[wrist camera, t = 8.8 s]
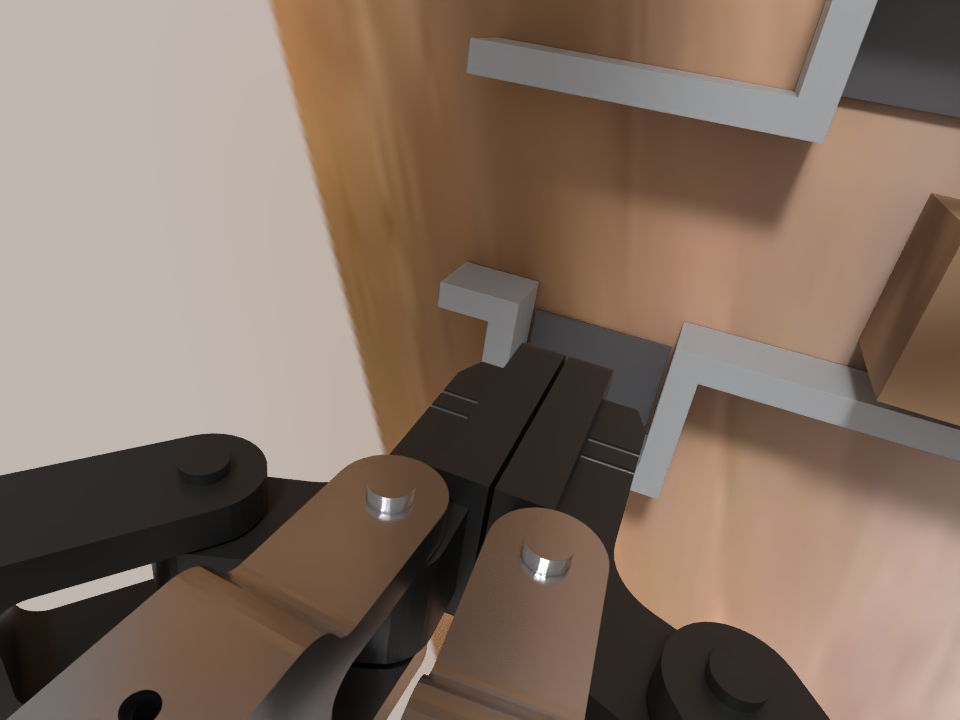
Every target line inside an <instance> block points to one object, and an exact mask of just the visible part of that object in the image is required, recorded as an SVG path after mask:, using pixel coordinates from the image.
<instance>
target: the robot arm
mask: <svg viewBox="0 0 960 720" xmlns="http://www.w3.org/2000/svg"><path fill="white" fill-rule="evenodd" d="M613 374H614V370H613V369H610V368H607V367H603V366H600V365H597V364H593V363H590V362H587V361H584V360H580V359H577V358H574V357H569V358H568V359H567V356H566V355H563V354H560V353H556V352H553V351H550V350H547V349H543V348H540V347H537V346H533V345H530V344H527V343H522V344H521V345H520V346H519V347H518V349H517V350H516V351H515V353H514V354H513V356H512V357H511V358H510V360H509V361H508V362H507V364H506V365H505V367H504V368H502V367H499V366H495V365H492V364H489V363H486V362H481V363H478V364H476V365H474V366H472V367H470V368H467V369H465V370H463V371H461V372H458V374H457V375H456V376H455V377H454V378H453V380H452V381H451V382H450V383H449V384H448V386H447V387H446V388H445V389H444V392H443V393H441V394H440V395H439V396H438V397H437V399H436V400H435V401H434V402H433V404H432V407H429V408H428V409H427V411H426V412H425V413H424V414H423V415H422V416H421V418H420V419H419V420H418V421H417V422H416V424H415V425H414V426H413V427H412V428H411V430H410V431H409V432H408V433H407V434H406V436H405V437H404V438H403V439H402V440H401V441H400V443H399V444H398V445H397V446H396V447H395V449H394V450H393V451H392V452H391V453H390V455H378V456H371V457H367V458H363V459H360V460H358V461H355V462H353V463H352V464H350V465H348V466H347V467H345V468H344V469H343V470H342V471H340V473H338V474H337V475H336V476H335V477H334V478H333V479H332V480H331V481H330V482H323V483H322V482H309V481H300V480H291V479H282V478H273V477H267V461H266V458H265V456H264V454H263V452H262V451H261V450H260V449H259V448H258V447H257V446H256V445H254V444H253V443H251V442H250V441H248V440H245V439H243V438H240V437H237V436H233V435H227V434H200V435H194V436H189V437H185V438H180V439H174V440H170V441H165V442H160V443H155V444H150V445H146V446H141V447H136V448H131V449H126V450H121V451H117V452H112V453H107V454H102V455H97V456H92V457H88V458H83V459H78V460H74V461H68V462H63V463H59V464H54V465H49V466H44V467H39V468H35V469H30V470H25V471H20V472H15V473H11V474H6V475H1V476H0V720H387V718H388V716H389V715H390V713H391V712H392V710H393V708H394V707H395V705H396V704H397V702H398V701H399V699H400V697H401V696H402V694H403V693H404V691H405V689H406V688H407V686H408V685H409V683H410V681H411V680H412V678H413V677H414V675H415V673H416V672H417V670H418V669H419V667H420V665H421V664H422V662H423V660H424V657H425V653H426V649H427V643H428V641H429V640H430V638H431V636H432V635H433V633H434V631H435V629H436V627H437V625H438V623H439V621H440V619H441V618H442V616H443V614H444V612H445V613H448V614H450V615H453V616H454V618H453V620H452V623H451V625H450V628H449V630H448V633H447V635H446V638H445V640H444V643H443V645H442V648H441V650H440V653H439V655H438V657H437V660H436V662H435V665H434V667H433V669H432V671H431V673H430V674H429V676H428V675H426V674H424V675H423V676H422V677H421V678H420V680H419V681H418V683H417V685H416V687H415V688H414V691H413V693H412V695H411V697H410V699H409V702H408V704H407V706H406V708H405V711H404V713H403V716H402V718H401V720H830V719H829V718H828V716H827V715H826V714H825V712H824V711H823V710H822V708H821V707H820V705H819V704H818V703H817V701H816V700H815V699H814V697H813V696H812V695H811V693H810V692H809V691H808V689H807V688H806V687H805V685H804V684H803V683H802V681H801V680H800V679H799V677H798V676H797V675H796V673H795V672H794V671H793V670H792V668H791V667H790V666H789V665H788V664H787V662H786V661H785V660H784V659H783V658H782V657H781V656H780V655H779V654H778V653H777V652H776V651H775V650H773V649H772V648H771V647H769V646H768V645H767V644H765V643H764V642H763V641H761V640H760V639H758V638H756V637H755V636H753V635H751V634H749V633H747V632H745V631H743V630H741V629H738V628H735V627H732V626H729V625H726V624H721V623H715V622H699V623H693V624H689V625H686V626H684V627H682V628H680V629H678V630H676V629H675V628H673V627H672V626H671V625H669V624H668V623H666V622H665V621H663V620H662V619H661V618H659V617H658V616H656V615H655V614H653V613H652V612H651V611H649V610H648V609H647V608H646V607H644V606H643V605H642V604H641V603H640V602H639V601H638V600H637V599H636V598H635V597H634V596H633V595H632V594H631V593H630V591H629V590H628V589H627V588H626V586H625V585H624V583H623V581H622V580H621V578H620V576H619V574H618V571H617V569H616V565H615V561H614V547H615V542H616V538H617V535H618V531H619V527H620V524H621V520H622V517H623V513H624V510H625V506H626V502H627V499H628V495H629V492H630V488H631V485H632V481H633V478H634V474H635V470H636V467H637V463H638V460H639V456H640V453H641V449H642V445H643V442H644V438H645V435H646V431H645V428H644V425H643V423H642V420H641V418H640V415H639V412H638V410H636V409H633V408H630V407H627V406H623V405H620V404H617V403H614V402H611V401H607V396H608V393H609V389H610V386H611V382H612V378H613ZM148 564H152V570H153V576H154V579H151V580H148V581H144V582H141V583H138V584H135V585H131V586H128V587H124V588H121V589H118V590H115V591H111V592H108V593H104V594H101V595H98V596H94V597H91V598H88V599H84V600H81V601H78V602H75V603H71V604H68V605H64V606H61V607H58V608H54V609H51V610H46V611H27V610H24V609H21V608H19V607H18V606H16V605H15V604H17V603H20V602H22V601H24V600H27V599H30V598H34V597H37V596H40V595H44V594H48V593H51V592H55V591H58V590H61V589H65V588H69V587H72V586H75V585H79V584H82V583H86V582H89V581H93V580H96V579H99V578H103V577H106V576H110V575H113V574H117V573H120V572H124V571H127V570H131V569H134V568H137V567H141V566H145V565H148Z"/></svg>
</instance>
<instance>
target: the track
mask: <svg viewBox="0 0 960 720" xmlns="http://www.w3.org/2000/svg"><path fill="white" fill-rule="evenodd" d="M466 73H468V74H473V75H478V76H483V77H488V78H493V79H498V80H503V81H508V82H513V83H518V84H523V85H528V86H533V87H539V88H544V89H549V90H554V91H559V92H564V93H569V94H574V95H579V96H584V97H589V98H594V99H599V100H604V101H609V102H614V103H619V104H624V105H629V106H634V107H639V108H644V109H649V110H654V111H659V112H665V113H670V114H675V115H680V116H685V117H690V118H695V119H700V120H705V121H710V122H715V123H720V124H725V125H730V126H735V127H740V128H745V129H750V130H755V131H760V132H765V133H770V134H775V135H780V136H785V137H790V138H796V139H801V140H806V141H811V142H816V143H821V144H823V143H824V140H825V138H826V135H827V132H828V130H829V127H830V125H831V122H832V119H833V117H834V114H835V111H836V109H837V106H838V103H839V101H840V98H841V96H843V97H848V98H854V99H860V100H865V101H871V102H876V103H882V104H887V105H893V106H898V107H904V108H909V109H915V110H921V111H926V112H932V113H937V114H943V115H948V116H954V117H959V118H960V0H826V2H825V5H824V8H823V11H822V13H821V16H820V19H819V22H818V25H817V28H816V31H815V34H814V37H813V39H812V42H811V45H810V48H809V51H808V54H807V57H806V60H805V63H804V65H803V68H802V71H801V74H800V77H799V80H798V83H797V86H796V88H795V91H791V90H785V89H780V88H774V87H769V86H763V85H758V84H752V83H747V82H741V81H736V80H730V79H725V78H719V77H714V76H708V75H703V74H697V73H692V72H686V71H681V70H675V69H670V68H664V67H659V66H653V65H648V64H642V63H637V62H631V61H626V60H620V59H615V58H609V57H604V56H598V55H593V54H587V53H582V52H576V51H571V50H565V49H560V48H554V47H549V46H543V45H538V44H532V43H526V42H521V41H515V40H510V39H504V38H499V37H487V38H470V46H469V54H468V62H467V71H466ZM538 285H539V282H538V281H535V280H531V279H528V278H524V277H520V276H517V275H513V274H509V273H506V272H502V271H498V270H495V269H491V268H488V267H484V266H480V265H477V264H473V263H469V262H466V263H464V264H463V265H462V266H460V267H459V268H458V269H456V270H455V271H454V272H453V273H451V274H450V275H449V276H447V277H446V278H445V279H443V280H442V281H441V283H440V292H439V300H438V307H440V308H444V309H447V310H450V311H454V312H457V313H461V314H464V315H467V316H471V317H474V318H477V319H481V320H484V321H487V322H488V326H487V332H486V338H485V344H484V350H483V356H482V362H486V363H489V364H492V365H495V366H499V367H502V368H504V367H505V365H506V364H507V362H508V361H509V360H510V358H511V357H512V356H513V354H514V353H515V351H516V350H517V349H518V347H519V346H520V345H521V344H522V343H527V340H528V335H529V330H530V325H531V320H532V315H533V310H534V305H535V300H536V295H537V290H538ZM530 345H533V346H537V347H540V348H543V349H547V350H550V351H553V352H556V353H560V354H563V355H566V356H567V359H568V358H569V357H574V358H577V359H580V360H584V361H587V362H590V363H593V364H597V365H600V366H603V367H607V368H610V369H613V370H614V374H613V378H612V382H611V386H610V389H609V393H608V396H607V401H611V402H614V403H617V404H620V405H623V406H627V407H630V408H633V409H636V410H638V412H639V415H640V418H641V420H642V423H643V425H644V428H646V425H647V422H648V419H649V416H650V413H651V410H652V406H653V403H654V400H655V397H656V394H657V391H658V388H659V384H660V381H661V378H662V375H663V372H664V369H665V366H666V362H667V359H668V356H669V353H670V350H671V347H669V346H666V345H662V344H659V343H655V342H652V341H648V340H645V339H641V338H638V337H634V336H631V335H627V334H624V333H620V332H617V331H613V330H610V329H606V328H603V327H599V326H596V325H592V324H589V323H585V322H582V321H578V320H575V319H571V318H568V317H564V316H561V315H557V314H554V313H550V312H547V311H543V310H540V309H537V310H536V314H535V319H534V324H533V329H532V334H531V339H530ZM698 384H700V385H703V386H706V387H710V388H713V389H717V390H720V391H723V392H727V393H730V394H733V395H737V396H740V397H743V398H747V399H750V400H754V401H757V402H760V403H764V404H767V405H770V406H774V407H777V408H781V409H784V410H787V411H791V412H794V413H797V414H801V415H804V416H807V417H811V418H814V419H818V420H821V421H824V422H828V423H831V424H834V425H838V426H841V427H845V428H848V429H851V430H855V431H858V432H861V433H865V434H868V435H871V436H875V437H878V438H882V439H885V440H888V441H892V442H895V443H898V444H902V445H905V446H909V447H912V448H915V449H919V450H922V451H925V452H929V453H932V454H935V455H939V456H942V457H946V458H949V459H952V460H956V461H959V462H960V426H958V425H955V424H952V423H948V422H945V421H942V420H938V419H935V418H932V417H928V416H925V415H922V414H919V413H915V412H912V411H909V410H905V409H902V408H899V407H895V406H892V405H889V404H885V403H882V402H879V401H877V400H876V397H875V394H874V391H873V387H872V384H871V381H870V377H869V374H868V372H866V371H862V370H858V369H855V368H851V367H847V366H844V365H840V364H837V363H833V362H829V361H826V360H822V359H818V358H815V357H811V356H808V355H804V354H800V353H797V352H793V351H789V350H786V349H782V348H778V347H775V346H771V345H768V344H764V343H760V342H757V341H753V340H749V339H746V338H742V337H738V336H735V335H731V334H728V333H724V332H720V331H717V330H713V329H709V328H706V327H702V326H698V325H695V324H691V323H688V322H684V323H683V326H682V329H681V332H680V335H679V339H678V342H677V345H676V348H675V351H674V354H673V357H672V360H671V363H670V367H669V370H668V373H667V376H666V379H665V382H664V385H663V388H662V391H661V395H660V398H659V401H658V404H657V407H656V410H655V413H654V416H653V419H652V423H651V426H650V429H649V432H648V434H646V435H645V438H644V442H643V445H642V449H641V453H640V456H639V460H638V463H637V467H636V470H635V474H634V478H633V481H632V485H631V488H630V490H632V491H634V492H637V493H640V494H643V495H646V496H649V497H652V498H655V499H658V497H659V494H660V491H661V488H662V485H663V482H664V479H665V477H666V474H667V471H668V468H669V465H670V462H671V459H672V457H673V454H674V451H675V448H676V445H677V442H678V439H679V437H680V434H681V431H682V428H683V425H684V422H685V419H686V417H687V414H688V411H689V408H690V405H691V402H692V399H693V397H694V394H695V391H696V388H697V385H698Z"/></svg>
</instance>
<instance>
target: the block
mask: <svg viewBox="0 0 960 720" xmlns="http://www.w3.org/2000/svg"><path fill="white" fill-rule="evenodd" d="M858 341H859V345H860V348H861V351H862V354H863V358H864V361H865V364H866V368H867V371H868V374H869V377H870V381H871V384H872V387H873V391H874V394H875V397H876V400H877V401H879V402H882V403H885V404H889V405H892V406H895V407H899V408H902V409H905V410H909V411H912V412H915V413H919V414H922V415H925V416H928V417H932V418H935V419H938V420H942V421H945V422H948V423H952V424H955V425H958V426H960V200H959V199H955V198H950V197H946V196H942V195H937V194H933V193H931V195H930V197H929V199H928V201H927V203H926V205H925V207H924V209H923V211H922V213H921V215H920V217H919V219H918V221H917V223H916V225H915V227H914V229H913V231H912V233H911V235H910V237H909V239H908V241H907V243H906V245H905V247H904V249H903V251H902V253H901V255H900V257H899V259H898V261H897V263H896V265H895V267H894V270H893V272H892V274H891V276H890V278H889V280H888V282H887V284H886V286H885V288H884V290H883V292H882V294H881V296H880V298H879V300H878V302H877V304H876V306H875V308H874V310H873V312H872V314H871V316H870V318H869V320H868V322H867V324H866V326H865V328H864V330H863V332H862V334H861V336H860V338H859V340H858Z"/></svg>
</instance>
